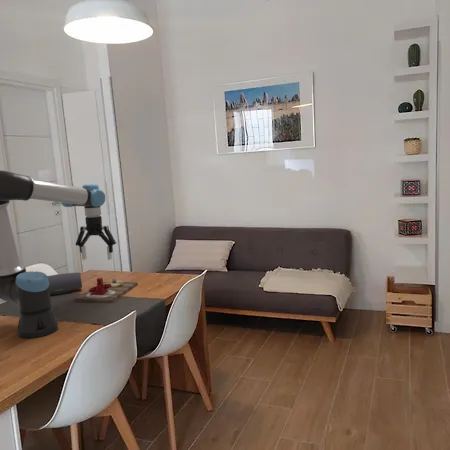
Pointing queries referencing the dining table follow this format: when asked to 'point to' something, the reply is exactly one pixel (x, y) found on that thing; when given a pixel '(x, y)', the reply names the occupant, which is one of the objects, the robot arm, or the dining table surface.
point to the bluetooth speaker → (64, 283)
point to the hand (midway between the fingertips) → (97, 259)
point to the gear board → (112, 294)
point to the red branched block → (100, 288)
